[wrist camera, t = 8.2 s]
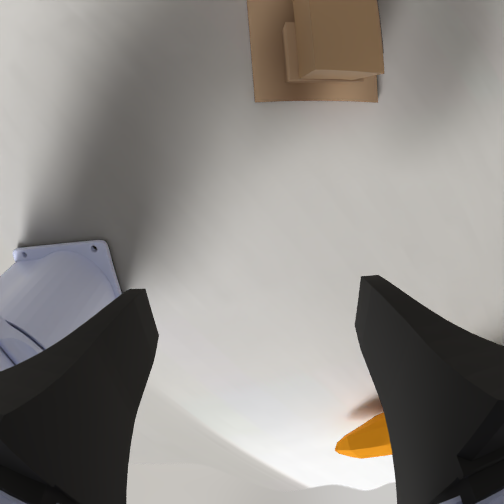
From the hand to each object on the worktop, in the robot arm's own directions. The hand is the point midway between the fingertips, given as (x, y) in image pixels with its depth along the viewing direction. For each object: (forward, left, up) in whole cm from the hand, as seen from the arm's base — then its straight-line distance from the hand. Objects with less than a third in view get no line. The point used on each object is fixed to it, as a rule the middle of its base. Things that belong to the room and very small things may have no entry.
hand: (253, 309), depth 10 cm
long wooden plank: (+4, +14, -7) cm, 16 cm away
